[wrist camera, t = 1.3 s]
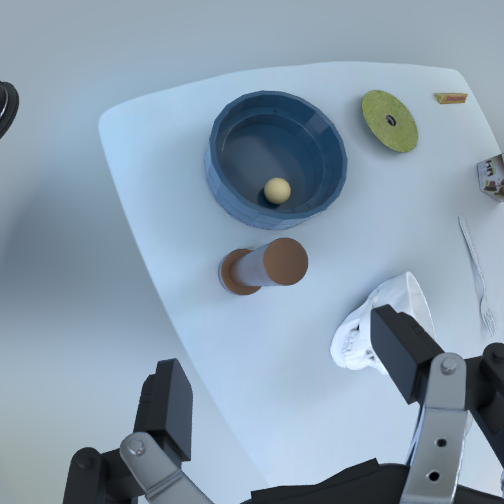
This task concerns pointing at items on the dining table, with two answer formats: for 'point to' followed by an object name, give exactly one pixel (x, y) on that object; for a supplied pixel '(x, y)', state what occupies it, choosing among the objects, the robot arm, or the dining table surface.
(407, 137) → the green disc
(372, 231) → the dining table surface
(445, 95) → the chocolate bar
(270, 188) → the dough ball
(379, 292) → the skull bowl
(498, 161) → the coffee box
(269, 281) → the brown flanged cylinder
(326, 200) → the bowl
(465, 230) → the fork
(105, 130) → the dining table surface
